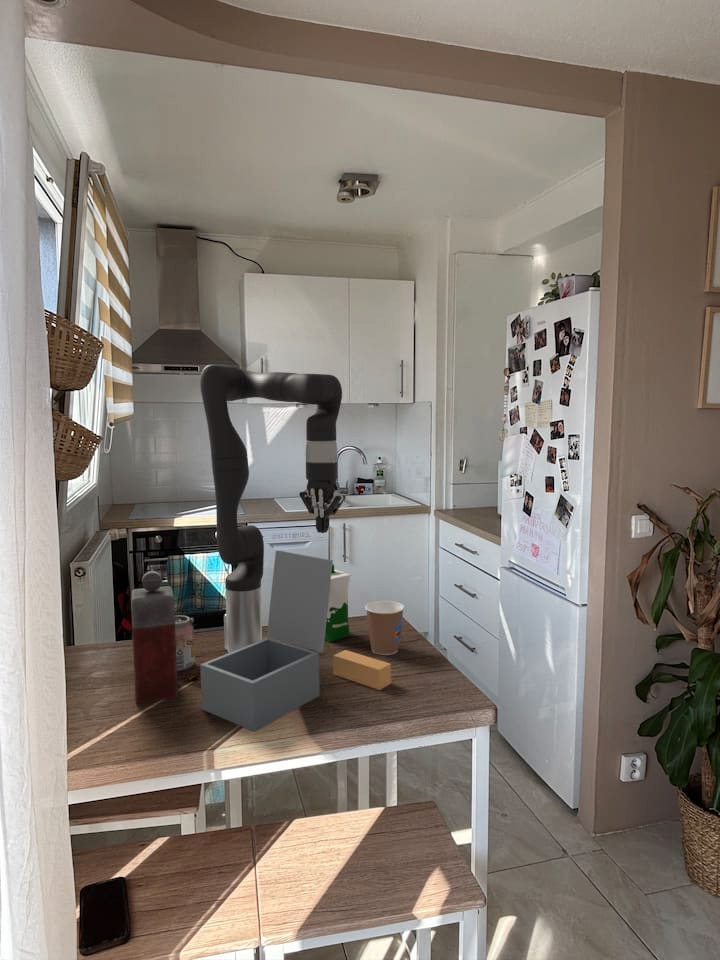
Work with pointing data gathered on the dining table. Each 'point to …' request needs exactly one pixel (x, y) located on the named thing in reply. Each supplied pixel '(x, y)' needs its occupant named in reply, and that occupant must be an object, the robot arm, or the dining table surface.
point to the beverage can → (184, 642)
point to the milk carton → (337, 606)
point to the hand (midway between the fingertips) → (322, 532)
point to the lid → (300, 599)
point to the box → (259, 682)
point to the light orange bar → (362, 669)
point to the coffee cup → (384, 626)
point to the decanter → (154, 640)
